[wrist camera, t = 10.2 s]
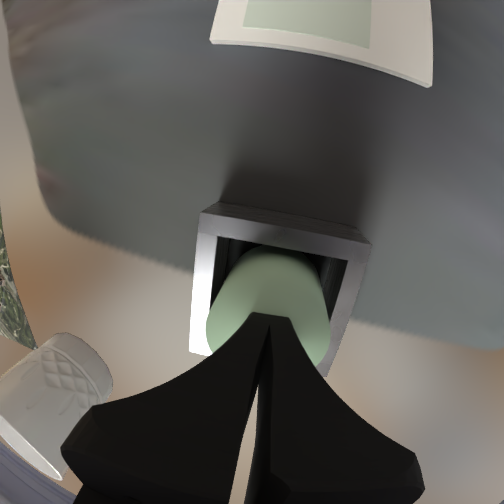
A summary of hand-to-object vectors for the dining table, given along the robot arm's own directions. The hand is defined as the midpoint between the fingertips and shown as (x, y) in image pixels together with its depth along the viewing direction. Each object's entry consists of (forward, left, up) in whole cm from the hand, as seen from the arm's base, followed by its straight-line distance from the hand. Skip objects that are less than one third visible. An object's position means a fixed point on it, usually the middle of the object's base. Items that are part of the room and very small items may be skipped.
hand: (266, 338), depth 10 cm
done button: (0, 0, -4) cm, 4 cm away
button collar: (0, 0, -5) cm, 5 cm away
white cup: (+14, +11, -6) cm, 19 cm away
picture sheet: (-1, -20, -5) cm, 20 cm away
